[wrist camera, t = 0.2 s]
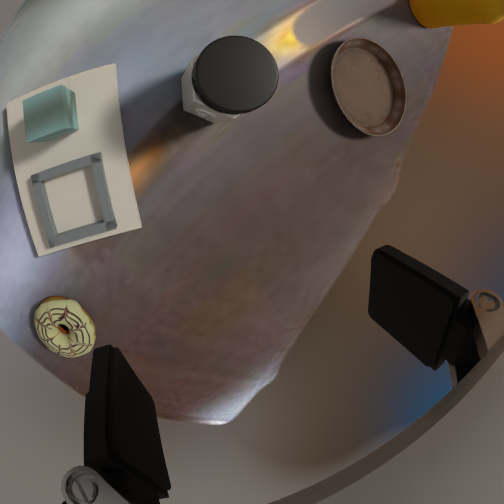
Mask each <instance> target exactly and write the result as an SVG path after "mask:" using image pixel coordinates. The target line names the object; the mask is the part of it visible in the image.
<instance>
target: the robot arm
mask: <svg viewBox="0 0 504 504" xmlns="http://www.w3.org/2000/svg"><path fill="white" fill-rule="evenodd" d="M468 294H469V290H467V289H465V288H463V287H462V286H460V285H459V284H457V283H456V282H454V281H452V280H450V279H449V278H447V277H445V276H444V275H442V274H440V273H439V272H437V271H435V270H434V269H432V268H430V267H428V266H427V265H425V264H423V263H421V262H419V261H418V260H416V259H414V258H412V257H410V256H409V255H407V254H405V253H403V252H401V251H400V250H398V249H396V248H394V247H392V246H390V245H385V246H383V247H380V248H378V249H376V250H375V251H374V253H373V255H372V258H371V277H370V293H369V305H368V306H369V307H368V312H369V315H370V317H371V318H372V319H373V320H374V321H375V322H376V323H377V324H379V325H380V326H381V327H382V328H383V329H384V330H386V331H387V332H388V333H389V334H390V335H391V336H393V337H394V338H395V339H396V340H397V341H398V342H399V343H401V344H402V345H403V346H404V347H405V348H407V350H409V351H410V352H411V353H412V354H413V355H414V356H415V357H417V358H418V359H419V360H420V361H421V362H422V363H423V364H424V365H426V366H428V367H429V366H430V367H431V368H432V369H433V370H437V369H438V368H439V367H440V366H441V365H442V364H443V363H444V361H445V360H447V361H448V363H449V370H450V377H451V385H452V390H451V391H450V392H449V393H448V394H446V396H444V397H443V398H442V399H441V400H440V401H439V402H438V403H437V404H436V405H434V406H433V407H432V408H431V409H430V410H429V411H427V412H426V413H425V414H424V415H423V416H421V417H420V418H419V419H418V420H416V421H415V422H414V423H413V424H411V425H410V426H409V427H407V428H406V429H405V430H403V431H402V432H401V433H399V434H398V435H397V436H396V437H394V438H392V439H391V440H390V441H388V442H387V443H385V444H384V445H382V446H381V447H379V448H378V449H376V450H375V451H373V452H372V453H370V454H368V455H367V456H366V457H364V458H362V459H360V460H359V461H357V462H355V463H354V464H352V465H350V466H349V467H347V468H345V469H343V470H341V471H339V472H338V473H336V474H334V475H332V476H330V477H328V478H326V479H324V480H322V481H320V482H318V483H316V484H314V485H312V486H310V487H308V488H305V489H303V490H301V491H299V492H296V493H294V494H292V495H289V496H287V497H284V498H282V499H280V500H277V501H274V502H271V503H268V504H504V303H503V301H502V300H501V298H500V297H499V296H498V295H497V294H495V293H493V292H491V291H488V290H477V291H475V292H473V294H472V295H471V299H470V300H468V299H467V297H468ZM170 489H171V484H170V480H169V476H168V471H167V468H166V463H165V458H164V454H163V449H162V444H161V439H160V434H159V428H158V423H157V416H156V410H155V404H154V401H153V399H152V397H151V395H150V394H149V393H148V391H147V390H146V388H145V387H144V386H143V384H142V383H141V381H140V380H139V379H138V377H137V376H136V374H135V373H134V371H133V370H132V368H131V367H130V365H129V364H128V362H127V361H126V359H125V357H124V356H123V354H122V353H121V351H120V350H119V348H118V347H115V348H113V346H112V345H106V346H102V347H99V348H95V349H94V352H93V359H92V368H91V377H90V388H89V392H88V393H87V394H86V400H85V417H84V466H76V467H73V468H72V469H70V470H69V471H67V473H66V474H65V475H64V477H63V480H62V484H61V491H62V495H63V497H64V499H65V501H64V502H63V503H62V504H160V502H159V499H163V498H168V497H169V495H168V491H167V490H170Z"/></svg>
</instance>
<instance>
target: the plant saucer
mask: <svg viewBox="0 0 504 504" xmlns="http://www.w3.org/2000/svg"><path fill="white" fill-rule="evenodd" d="M330 82H331V88H332V92H333V95H334V98H335V100H336V103H337V105H338V107H339V108H340V110H341V111H342V113H343V114H344V116H345V117H346V118H347V119H348V121H349V122H350V123H351V124H353V125H354V126H355V127H356V128H357V129H359V130H360V131H362V132H364V133H366V134H368V135H372V136H384V135H387V134H389V133H391V132H392V131H393V130H395V129H396V128H397V126H398V125H399V123H400V122H401V120H402V118H403V115H404V111H405V107H406V89H405V83H404V79H403V76H402V73H401V71H400V69H399V67H398V65H397V63H396V62H395V60H394V59H393V57H392V56H391V55H390V53H389V52H387V50H386V49H384V48H383V47H382V46H381V45H379V44H378V43H376V42H374V41H372V40H370V39H367V38H361V37H356V38H351V39H348V40H346V41H345V42H343V43H342V44H341V45H340V46H339V47H338V49H337V50H336V52H335V54H334V56H333V59H332V62H331V68H330Z"/></svg>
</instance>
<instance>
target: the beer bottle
mask: <svg viewBox="0 0 504 504" xmlns="http://www.w3.org/2000/svg"><path fill="white" fill-rule="evenodd" d="M409 4H410V8H411V11H412V13H413V15H414V16H415V18H416V19H417V20H418V22H419V23H420V24H421V25H423V26H424V27H426V28H438V27H445V26H455V25H468V24H469V25H470V24H493V23H497V22H499V21H501V20H502V19H504V0H409Z"/></svg>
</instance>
